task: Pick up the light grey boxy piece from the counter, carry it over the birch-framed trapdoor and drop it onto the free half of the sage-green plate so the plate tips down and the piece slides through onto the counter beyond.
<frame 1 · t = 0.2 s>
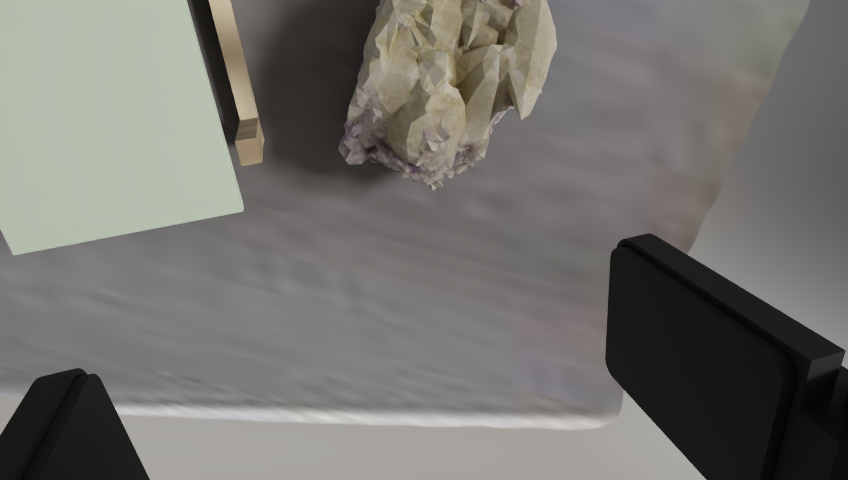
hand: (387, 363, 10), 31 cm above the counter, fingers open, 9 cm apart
trapdoor: (65, 39, 26), point 8 cm above the counter, hinge at 0.0°
geode: (439, 67, 39), on the counter
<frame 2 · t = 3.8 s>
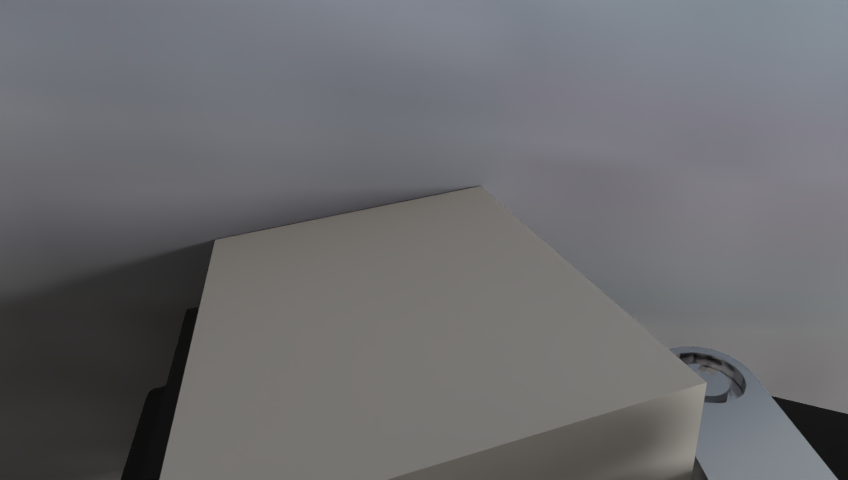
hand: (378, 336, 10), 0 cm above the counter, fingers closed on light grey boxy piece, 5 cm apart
light grey boxy piece: (374, 322, 11), on the counter, touching gripper
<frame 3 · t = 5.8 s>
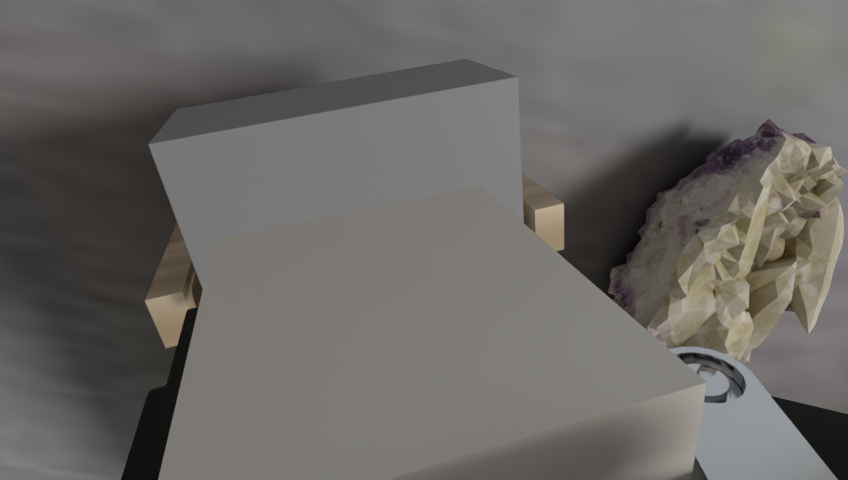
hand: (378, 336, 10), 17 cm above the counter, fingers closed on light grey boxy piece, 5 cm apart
light grey boxy piece: (374, 322, 11), point 17 cm above the counter, touching gripper
trapdoor: (383, 334, 22), point 7 cm above the counter, hinge at 0.0°
geode: (681, 250, 35), on the counter
frame: (343, 190, 27), on the counter
when the fingers open (12 cm above the counter, at t = 7.6 s): light grey boxy piece drops 8 cm and tips over, resting on trapdoor.
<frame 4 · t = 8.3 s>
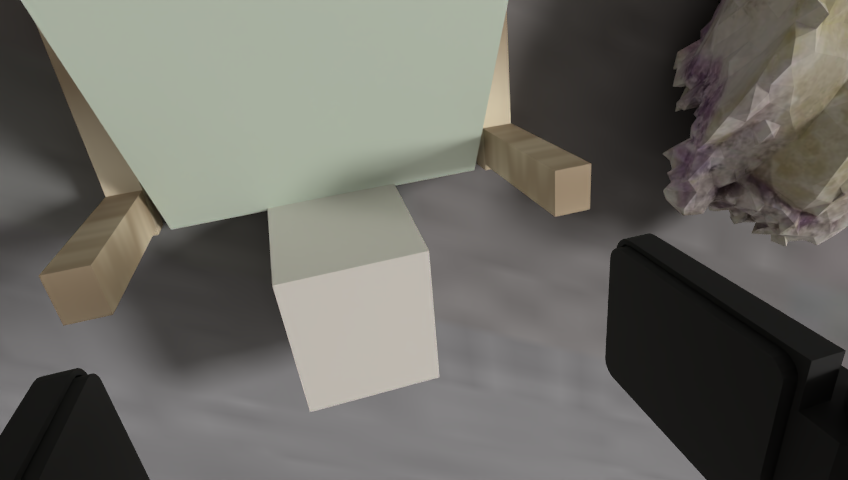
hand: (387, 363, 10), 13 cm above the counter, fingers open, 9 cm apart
light grey boxy piece: (341, 227, 19), point 3 cm above the counter, tilted 98°, touching trapdoor
geode: (771, 48, 24), on the counter
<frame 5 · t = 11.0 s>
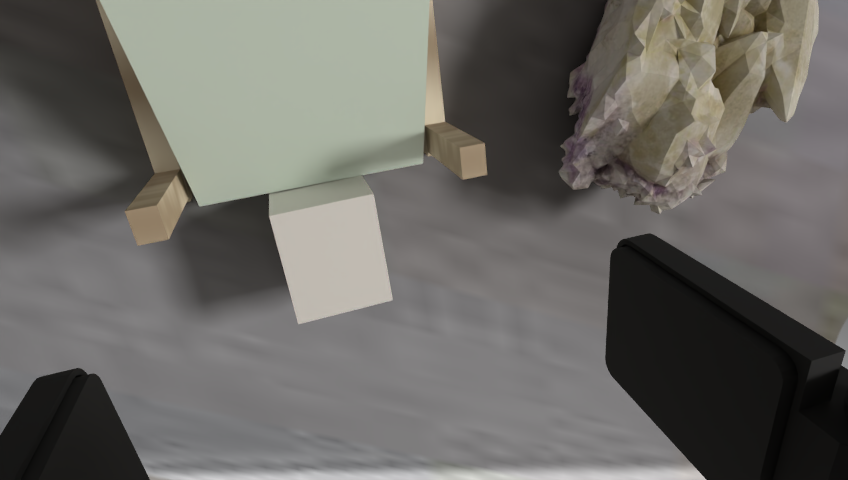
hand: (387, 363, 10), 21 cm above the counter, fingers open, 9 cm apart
light grey boxy piece: (317, 190, 27), point 2 cm above the counter, tilted 90°, touching trapdoor
geode: (648, 67, 33), on the counter
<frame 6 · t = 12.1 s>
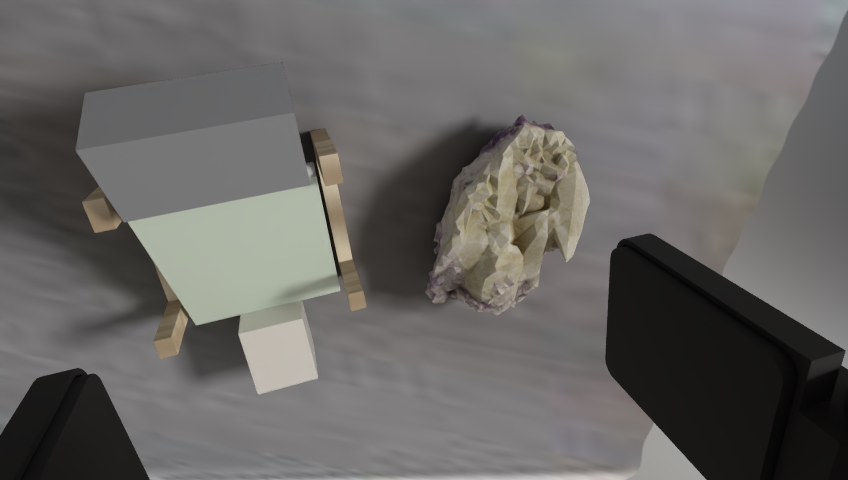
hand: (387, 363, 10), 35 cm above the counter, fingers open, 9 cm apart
light grey boxy piece: (270, 310, 44), point 2 cm above the counter, tilted 90°
trapdoor: (237, 221, 37), point 6 cm above the counter, hinge at 28.2°
geode: (495, 212, 49), on the counter
frame: (230, 158, 41), on the counter
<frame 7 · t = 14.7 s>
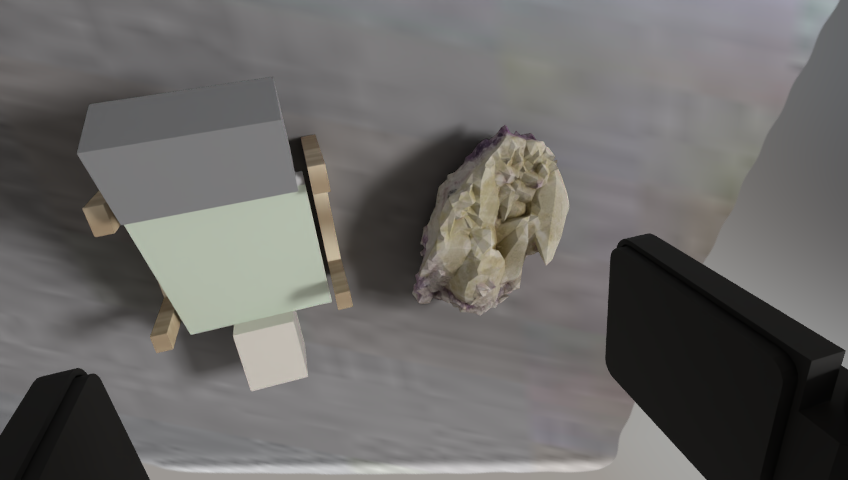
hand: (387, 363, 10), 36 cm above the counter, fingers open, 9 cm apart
light grey boxy piece: (263, 313, 46), point 2 cm above the counter, tilted 90°
trapdoor: (230, 229, 39), point 6 cm above the counter, hinge at 22.0°
geode: (480, 215, 51), on the counter
frame: (223, 162, 42), on the counter
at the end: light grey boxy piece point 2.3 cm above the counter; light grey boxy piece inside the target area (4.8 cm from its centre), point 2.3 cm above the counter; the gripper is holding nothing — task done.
